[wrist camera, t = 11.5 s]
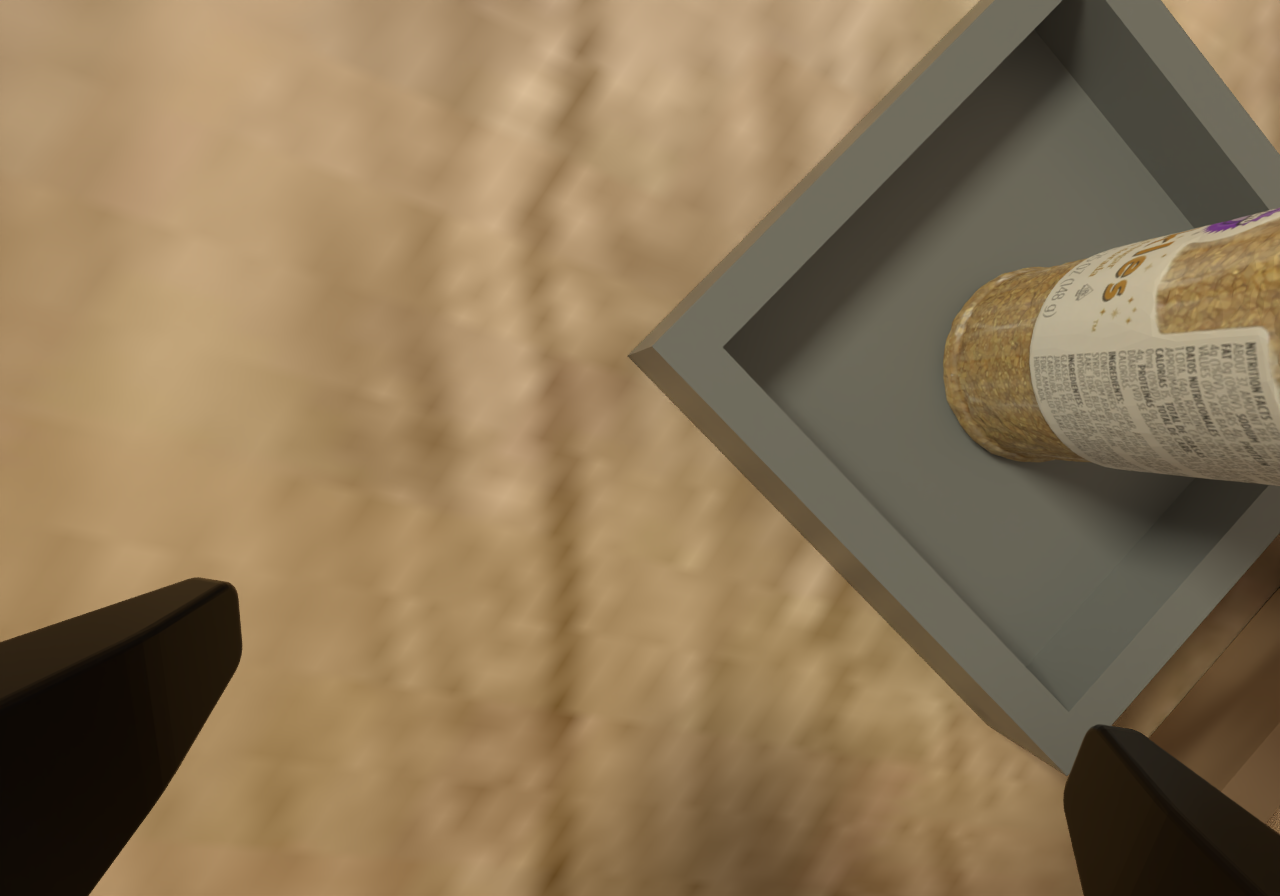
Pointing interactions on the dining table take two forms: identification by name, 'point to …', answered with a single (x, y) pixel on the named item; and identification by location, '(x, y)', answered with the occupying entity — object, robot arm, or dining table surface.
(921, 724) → the dining table surface
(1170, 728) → the holder collar
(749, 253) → the tray
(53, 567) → the dining table surface
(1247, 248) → the sprinkles bottle
